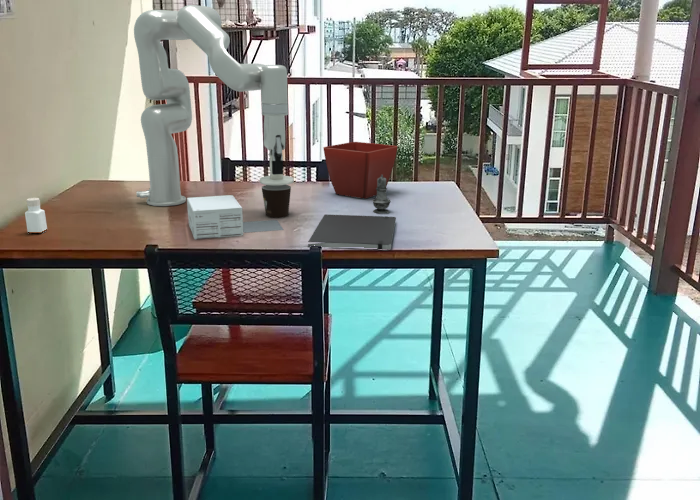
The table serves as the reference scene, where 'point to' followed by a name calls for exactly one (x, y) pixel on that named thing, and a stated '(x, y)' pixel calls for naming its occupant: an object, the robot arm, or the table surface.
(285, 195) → the coffee mug
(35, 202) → the salt shaker
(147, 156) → the robot arm
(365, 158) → the plant pot
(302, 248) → the table surface
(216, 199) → the supplement box
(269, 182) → the lid
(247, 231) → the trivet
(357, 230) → the notebook
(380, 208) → the grey stone figurine
